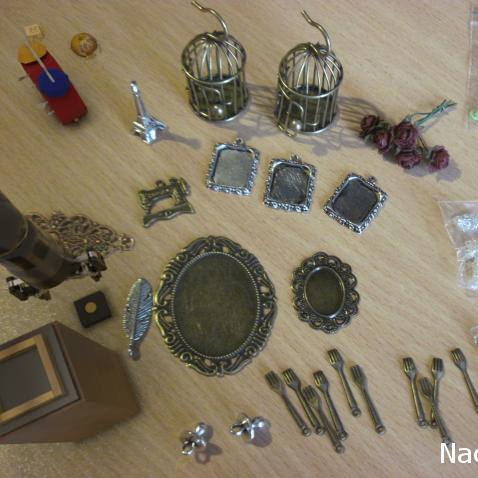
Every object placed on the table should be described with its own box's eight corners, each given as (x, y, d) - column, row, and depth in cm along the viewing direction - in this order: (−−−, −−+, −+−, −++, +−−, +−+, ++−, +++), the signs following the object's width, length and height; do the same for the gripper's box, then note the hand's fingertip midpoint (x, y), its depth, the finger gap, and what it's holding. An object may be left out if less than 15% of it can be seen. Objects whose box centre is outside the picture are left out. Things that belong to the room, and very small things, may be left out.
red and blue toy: (96, 123, 124) (66, 68, 106) (61, 143, 122) (24, 90, 103) (62, 78, 128) (27, 16, 109) (28, 96, 125) (-15, 36, 106)
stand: (79, 442, 102) (-16, 445, 68) (57, 382, 105) (-44, 356, 71) (141, 411, 105) (79, 399, 71) (118, 354, 108) (49, 316, 74)
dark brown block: (87, 329, 109) (81, 325, 106) (78, 305, 111) (72, 301, 107) (113, 317, 110) (108, 313, 107) (104, 293, 112) (99, 289, 108)
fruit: (94, 71, 129) (90, 61, 125) (64, 56, 130) (58, 46, 126) (115, 46, 132) (111, 35, 128) (85, 31, 132) (80, 20, 129)
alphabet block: (28, 35, 131) (23, 26, 128) (41, 31, 131) (36, 22, 128) (32, 45, 130) (26, 36, 127) (45, 41, 130) (40, 32, 128)
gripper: (-8, 299, 79) (37, 321, 94) (91, 262, 82) (119, 289, 97) (-20, 253, 81) (25, 282, 96) (77, 218, 84) (106, 251, 99)
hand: (72, 285), depth 97 cm, fingers open, 8 cm apart
